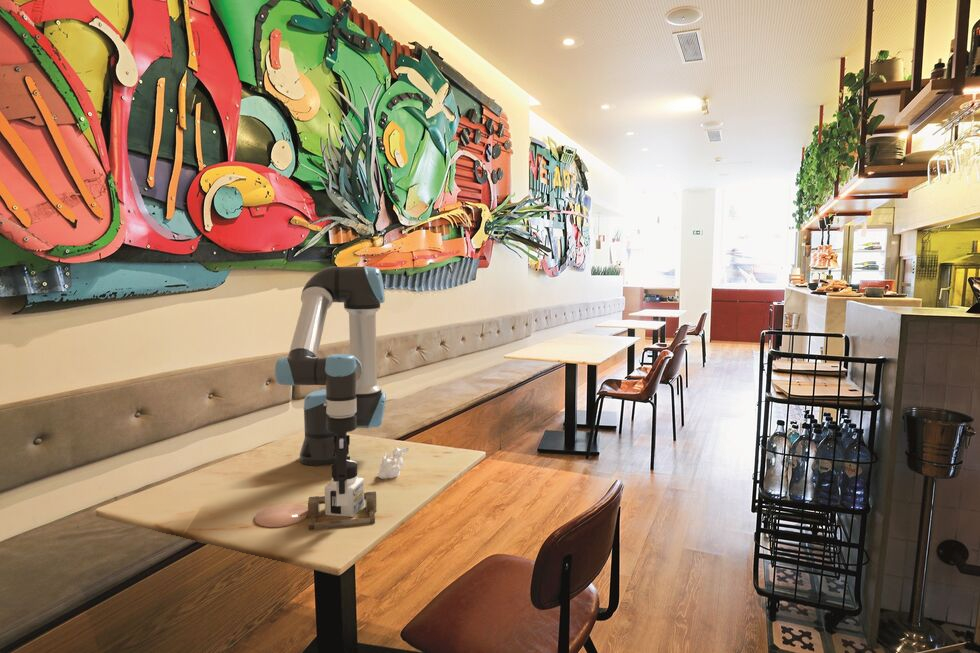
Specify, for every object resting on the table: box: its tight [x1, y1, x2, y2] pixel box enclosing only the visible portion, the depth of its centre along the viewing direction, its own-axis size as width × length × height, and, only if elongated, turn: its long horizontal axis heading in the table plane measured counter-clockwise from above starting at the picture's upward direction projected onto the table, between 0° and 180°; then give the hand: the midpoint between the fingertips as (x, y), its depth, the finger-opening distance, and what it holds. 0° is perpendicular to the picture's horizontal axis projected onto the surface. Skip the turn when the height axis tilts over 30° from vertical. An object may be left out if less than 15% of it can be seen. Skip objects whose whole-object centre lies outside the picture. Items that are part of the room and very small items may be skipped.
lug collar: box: [307, 491, 377, 531], centre depth 145 cm, size 17×17×4 cm
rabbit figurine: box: [377, 446, 410, 480], centre depth 171 cm, size 12×8×10 cm, turn 145°
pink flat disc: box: [254, 502, 308, 528], centre depth 142 cm, size 13×13×1 cm
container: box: [324, 459, 365, 518], centre depth 145 cm, size 8×8×13 cm
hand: (342, 495), depth 144 cm, fingers open, 13 cm apart
